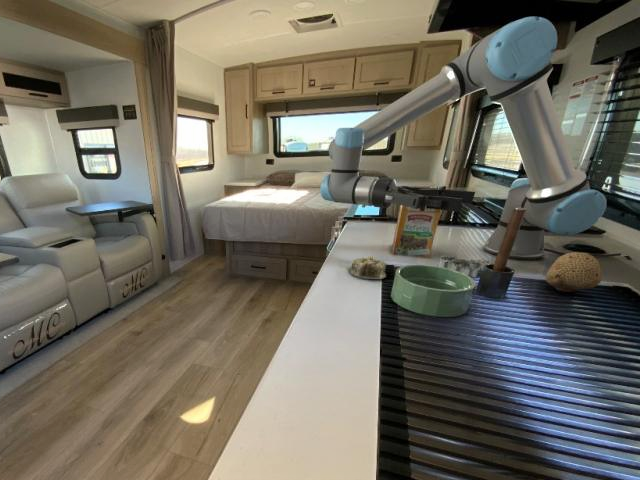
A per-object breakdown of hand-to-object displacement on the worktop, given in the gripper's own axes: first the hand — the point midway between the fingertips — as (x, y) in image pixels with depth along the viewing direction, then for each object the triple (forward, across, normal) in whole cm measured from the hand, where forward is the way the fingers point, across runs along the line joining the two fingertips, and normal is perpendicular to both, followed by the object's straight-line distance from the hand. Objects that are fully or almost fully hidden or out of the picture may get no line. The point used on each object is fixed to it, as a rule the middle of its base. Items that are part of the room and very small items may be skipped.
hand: (467, 201), depth 76 cm
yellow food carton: (-16, -24, -21) cm, 36 cm away
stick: (+10, 0, -20) cm, 23 cm away
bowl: (0, +14, -21) cm, 25 cm away
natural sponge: (+23, -14, -21) cm, 34 cm away
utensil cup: (+10, 0, -21) cm, 23 cm away
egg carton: (+1, -13, -21) cm, 25 cm away
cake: (-18, +5, -21) cm, 28 cm away
